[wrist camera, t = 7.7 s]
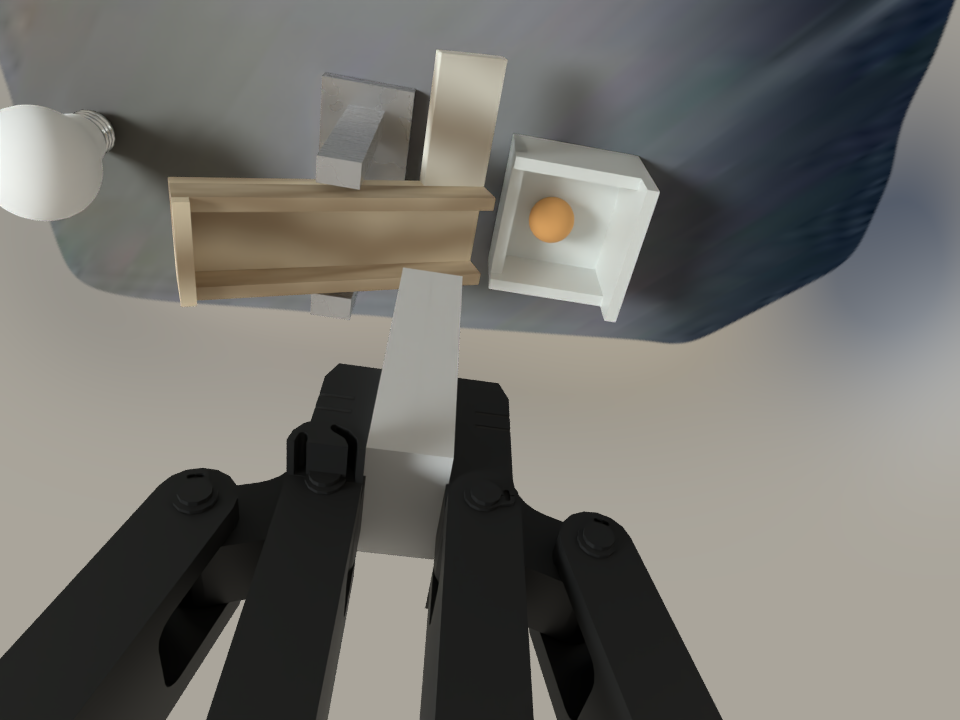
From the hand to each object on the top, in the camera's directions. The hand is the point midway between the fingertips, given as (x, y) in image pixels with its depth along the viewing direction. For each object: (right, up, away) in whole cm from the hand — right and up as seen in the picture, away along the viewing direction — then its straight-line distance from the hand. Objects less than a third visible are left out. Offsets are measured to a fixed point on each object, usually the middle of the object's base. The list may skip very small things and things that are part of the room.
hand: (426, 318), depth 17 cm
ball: (+6, +9, +30) cm, 32 cm away
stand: (-7, +12, +31) cm, 34 cm away
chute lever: (-7, +10, +22) cm, 25 cm away
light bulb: (-25, +15, +29) cm, 41 cm away
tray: (+7, +10, +32) cm, 34 cm away
